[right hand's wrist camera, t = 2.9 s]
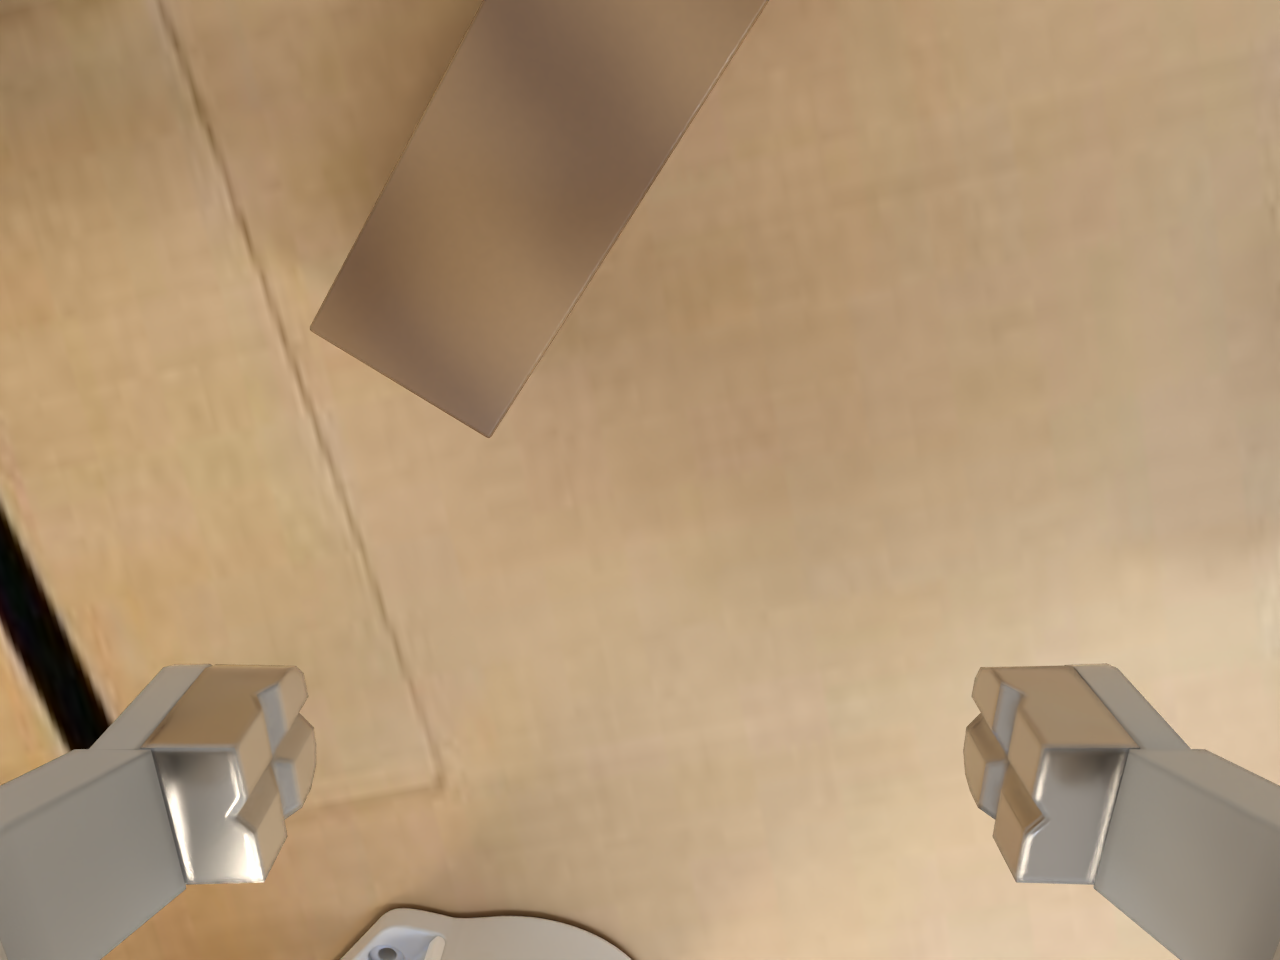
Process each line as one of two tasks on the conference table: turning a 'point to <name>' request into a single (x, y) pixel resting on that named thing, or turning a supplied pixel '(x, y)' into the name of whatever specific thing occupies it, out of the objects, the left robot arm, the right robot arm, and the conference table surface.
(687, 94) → the cabinet
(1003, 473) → the conference table surface
